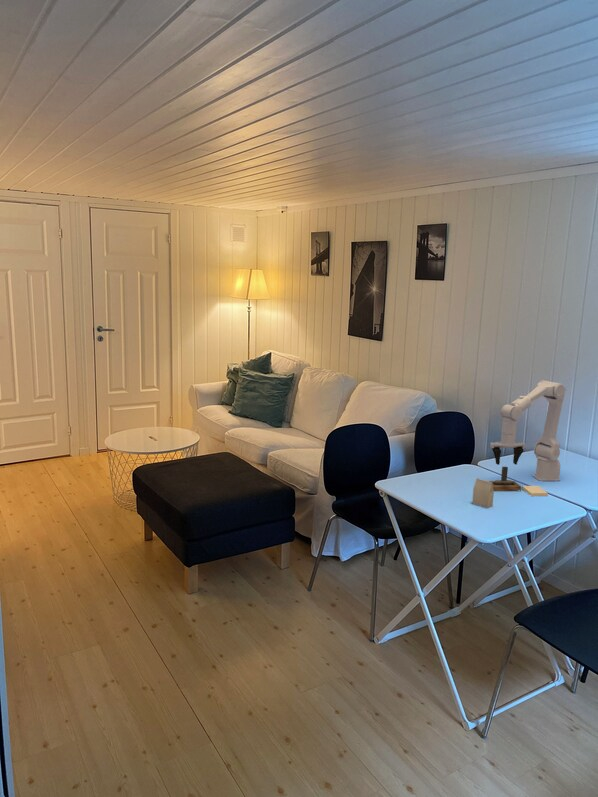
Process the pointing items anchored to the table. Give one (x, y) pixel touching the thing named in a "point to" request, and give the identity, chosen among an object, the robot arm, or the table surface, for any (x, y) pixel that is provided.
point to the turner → (503, 478)
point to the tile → (534, 491)
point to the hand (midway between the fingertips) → (506, 463)
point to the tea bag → (483, 493)
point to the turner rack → (506, 487)
